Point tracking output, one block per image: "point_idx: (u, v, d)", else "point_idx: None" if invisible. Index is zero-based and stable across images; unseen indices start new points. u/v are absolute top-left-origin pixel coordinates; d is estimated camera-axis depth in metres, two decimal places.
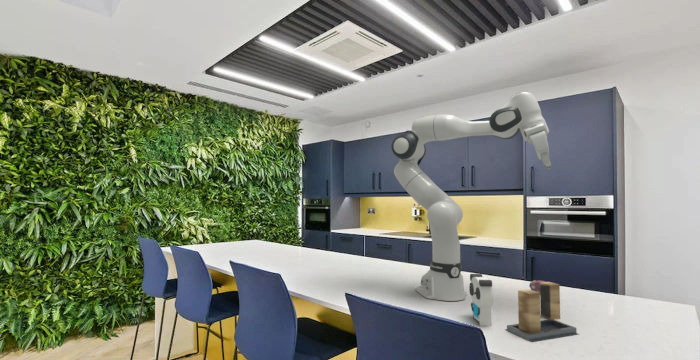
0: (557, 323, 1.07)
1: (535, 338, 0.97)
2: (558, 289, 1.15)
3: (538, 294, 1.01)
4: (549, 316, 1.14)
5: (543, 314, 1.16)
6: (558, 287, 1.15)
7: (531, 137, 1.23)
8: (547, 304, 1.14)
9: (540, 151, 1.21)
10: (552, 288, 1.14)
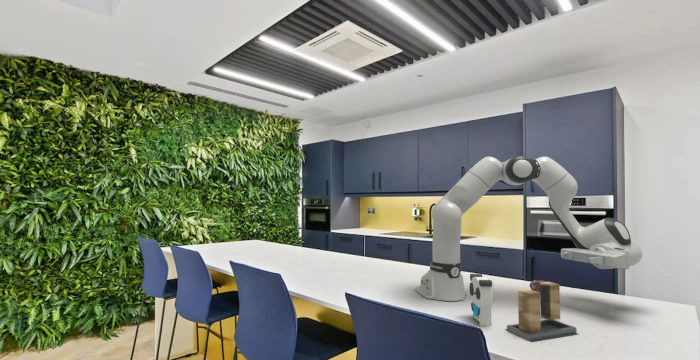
0: (557, 323, 1.07)
1: (535, 338, 0.97)
2: (558, 289, 1.15)
3: (538, 294, 1.01)
4: (549, 316, 1.14)
5: (543, 314, 1.16)
6: (558, 287, 1.15)
7: (625, 254, 1.16)
8: (547, 304, 1.14)
9: (614, 258, 1.14)
10: (552, 288, 1.14)
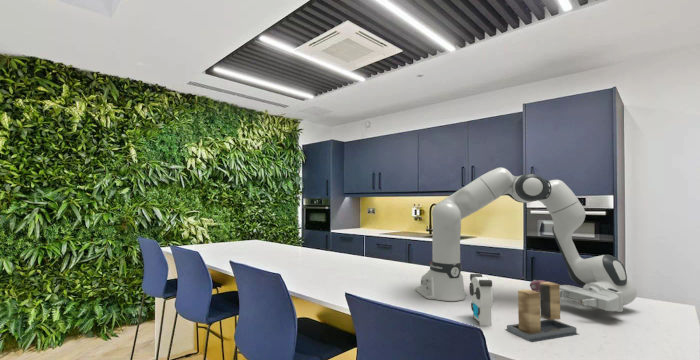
0: (557, 323, 1.07)
1: (535, 338, 0.97)
2: (558, 289, 1.15)
3: (538, 294, 1.01)
4: (549, 316, 1.14)
5: (543, 314, 1.16)
6: (558, 287, 1.15)
7: (618, 297, 1.14)
8: (547, 304, 1.14)
9: (608, 302, 1.12)
10: (552, 288, 1.14)
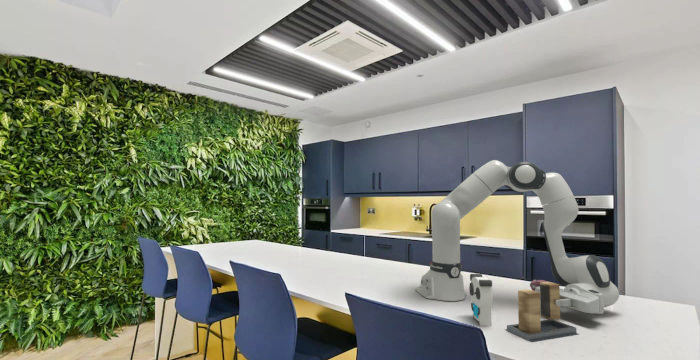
0: (557, 323, 1.07)
1: (535, 338, 0.97)
2: (558, 289, 1.15)
3: (538, 294, 1.01)
4: (549, 316, 1.14)
5: (543, 314, 1.16)
6: (558, 287, 1.15)
7: (598, 299, 1.11)
8: (547, 304, 1.14)
9: (587, 304, 1.09)
10: (552, 288, 1.14)
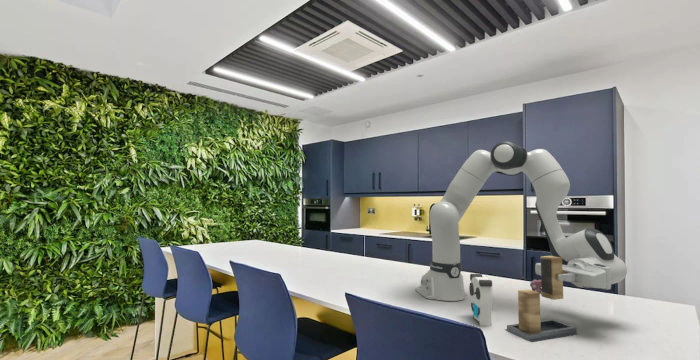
0: (557, 323, 1.07)
1: (535, 338, 0.97)
2: (560, 262, 1.04)
3: (538, 294, 1.01)
4: (551, 292, 1.03)
5: (544, 291, 1.05)
6: (561, 260, 1.04)
7: (605, 272, 1.00)
8: (549, 279, 1.04)
9: (593, 278, 0.98)
10: (554, 262, 1.04)
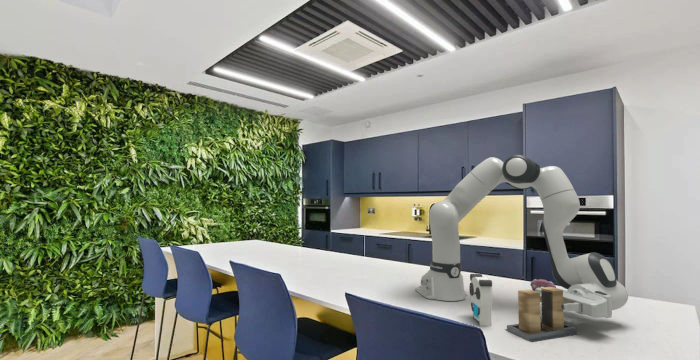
0: None
1: (535, 338, 0.97)
2: (561, 295, 1.04)
3: (538, 294, 1.01)
4: (551, 325, 1.02)
5: (545, 323, 1.04)
6: (561, 293, 1.04)
7: (606, 301, 1.00)
8: (549, 312, 1.03)
9: (594, 307, 0.97)
10: (555, 294, 1.03)
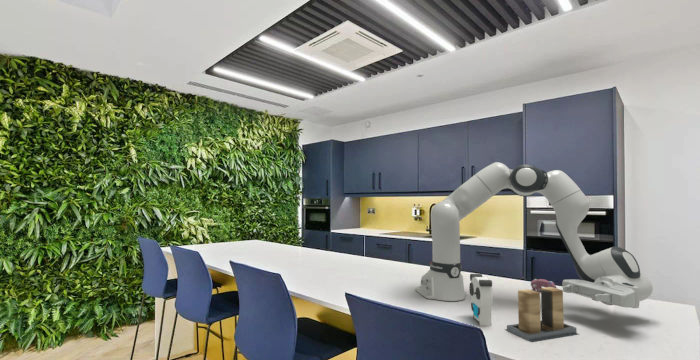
0: None
1: (535, 338, 0.97)
2: (561, 295, 1.04)
3: (538, 294, 1.01)
4: (551, 325, 1.02)
5: (545, 323, 1.04)
6: (561, 293, 1.04)
7: (634, 292, 1.04)
8: (549, 312, 1.03)
9: (623, 297, 1.02)
10: (555, 294, 1.03)
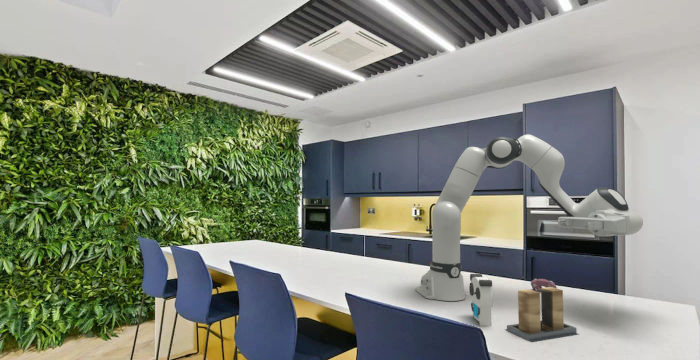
0: None
1: (535, 338, 0.97)
2: (561, 295, 1.04)
3: (538, 294, 1.01)
4: (551, 325, 1.02)
5: (545, 323, 1.04)
6: (561, 293, 1.04)
7: (625, 219, 1.10)
8: (549, 312, 1.03)
9: (614, 222, 1.07)
10: (555, 294, 1.03)
